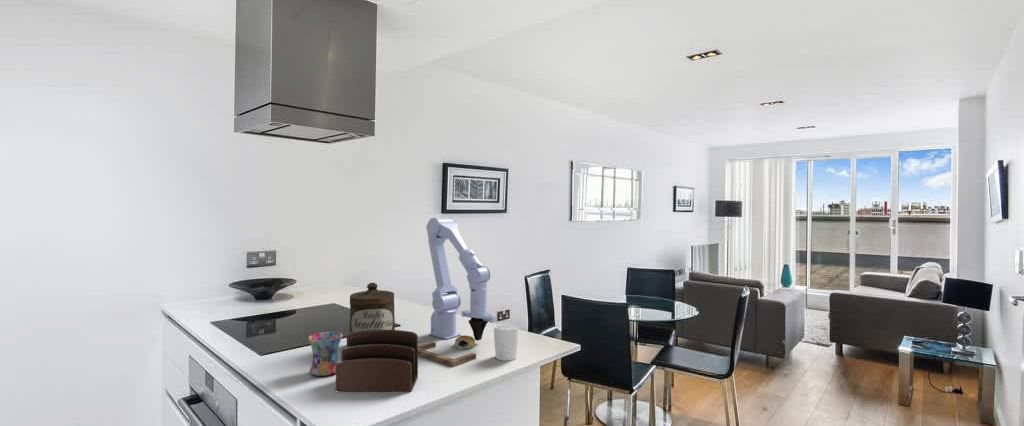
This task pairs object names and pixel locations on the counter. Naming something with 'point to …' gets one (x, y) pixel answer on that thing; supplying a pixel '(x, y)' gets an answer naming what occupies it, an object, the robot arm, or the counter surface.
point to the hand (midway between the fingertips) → (478, 339)
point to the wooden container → (372, 310)
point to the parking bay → (443, 359)
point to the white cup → (506, 341)
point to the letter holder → (378, 362)
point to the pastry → (464, 342)
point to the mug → (324, 352)
